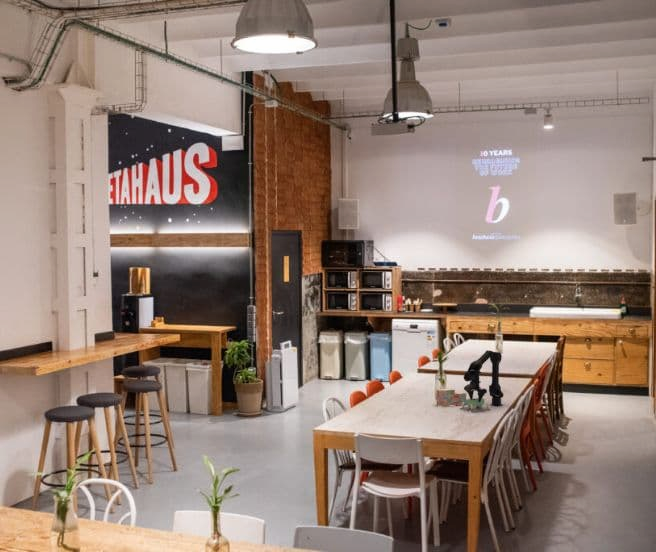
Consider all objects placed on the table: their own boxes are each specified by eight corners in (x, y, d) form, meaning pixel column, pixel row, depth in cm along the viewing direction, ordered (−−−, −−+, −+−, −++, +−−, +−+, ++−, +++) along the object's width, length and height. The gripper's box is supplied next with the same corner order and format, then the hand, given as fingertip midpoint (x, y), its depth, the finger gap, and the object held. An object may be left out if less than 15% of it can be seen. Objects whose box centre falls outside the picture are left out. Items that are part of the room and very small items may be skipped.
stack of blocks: (463, 404, 603) (463, 387, 603) (466, 405, 597) (466, 389, 596) (436, 405, 598) (436, 388, 598) (439, 406, 592) (439, 390, 592)
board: (478, 403, 586) (478, 397, 586) (484, 404, 581) (484, 398, 581) (466, 404, 580) (466, 398, 580) (471, 406, 575) (471, 400, 575)
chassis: (477, 406, 591) (477, 399, 591) (490, 410, 579) (490, 402, 579) (459, 409, 582) (459, 401, 582) (472, 412, 570) (472, 404, 570)
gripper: (458, 379, 584) (458, 400, 584) (475, 382, 568) (475, 404, 568) (470, 377, 589) (470, 399, 590) (487, 381, 574) (487, 403, 574)
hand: (475, 401), depth 580 cm, fingers open, 8 cm apart
